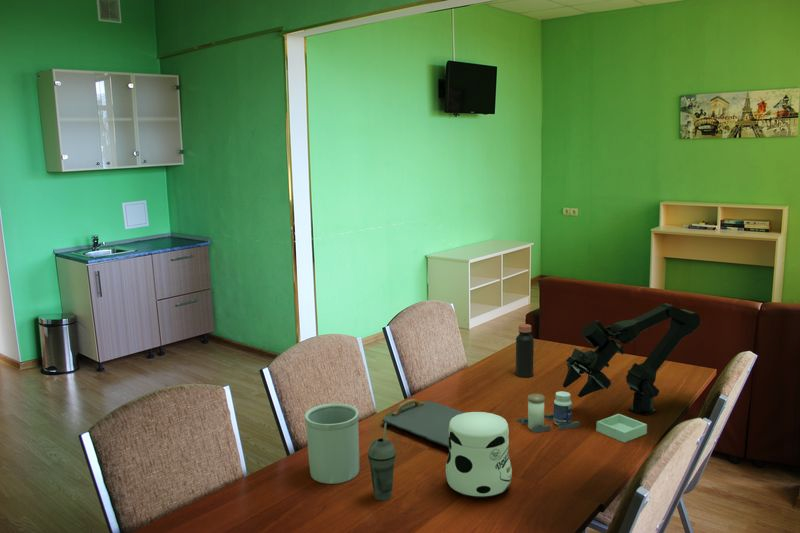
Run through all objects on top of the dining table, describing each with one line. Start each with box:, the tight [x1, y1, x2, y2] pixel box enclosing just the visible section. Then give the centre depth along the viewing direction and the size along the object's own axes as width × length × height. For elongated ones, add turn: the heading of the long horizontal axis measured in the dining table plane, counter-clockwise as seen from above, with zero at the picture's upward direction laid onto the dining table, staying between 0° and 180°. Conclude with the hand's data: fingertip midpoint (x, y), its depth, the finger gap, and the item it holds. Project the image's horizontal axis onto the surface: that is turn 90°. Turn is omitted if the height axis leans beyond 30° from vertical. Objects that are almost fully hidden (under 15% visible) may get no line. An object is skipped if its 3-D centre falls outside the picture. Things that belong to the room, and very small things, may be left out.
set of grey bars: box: [515, 412, 581, 434], centre depth 219 cm, size 17×11×2 cm, turn 107°
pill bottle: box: [552, 391, 573, 426], centre depth 218 cm, size 6×6×10 cm
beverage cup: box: [367, 422, 397, 501], centre depth 174 cm, size 7×7×20 cm
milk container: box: [445, 411, 513, 499], centre depth 178 cm, size 17×17×18 cm
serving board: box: [381, 398, 466, 449], centre depth 216 cm, size 39×23×6 cm, turn 44°
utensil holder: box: [304, 402, 360, 485], centre depth 188 cm, size 15×15×18 cm
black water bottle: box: [515, 323, 535, 378], centre depth 264 cm, size 7×7×20 cm
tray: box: [595, 413, 648, 443], centre depth 211 cm, size 11×11×3 cm
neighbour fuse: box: [527, 393, 546, 430], centre depth 216 cm, size 5×5×10 cm
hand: (571, 391), depth 218 cm, fingers open, 9 cm apart
